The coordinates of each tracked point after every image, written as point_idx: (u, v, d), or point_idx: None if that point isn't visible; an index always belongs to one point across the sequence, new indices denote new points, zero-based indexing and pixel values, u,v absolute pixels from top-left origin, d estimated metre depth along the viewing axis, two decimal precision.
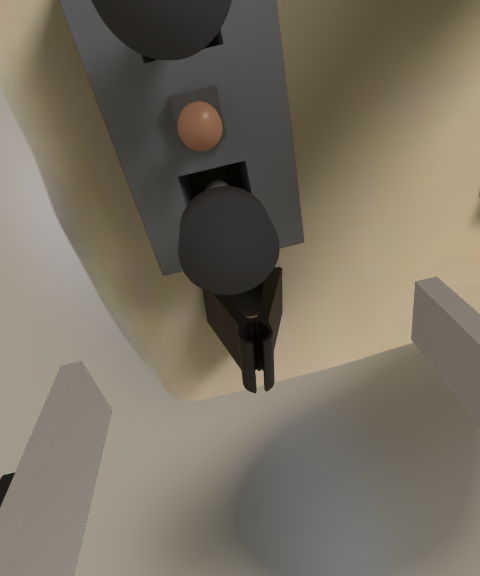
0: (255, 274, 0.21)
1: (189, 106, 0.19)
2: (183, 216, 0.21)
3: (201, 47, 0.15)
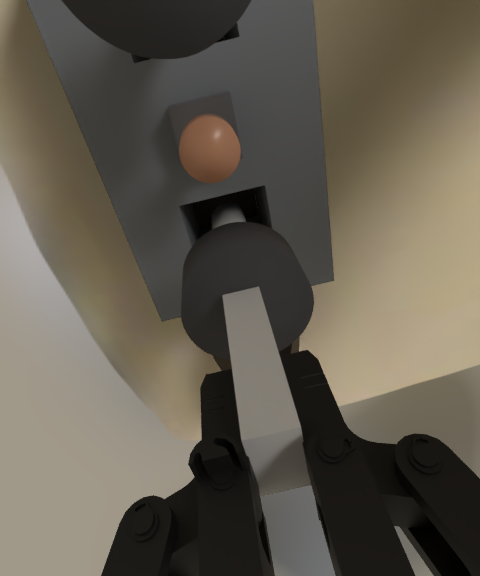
0: (281, 336, 0.16)
1: (195, 123, 0.13)
2: (187, 261, 0.16)
3: (216, 38, 0.09)
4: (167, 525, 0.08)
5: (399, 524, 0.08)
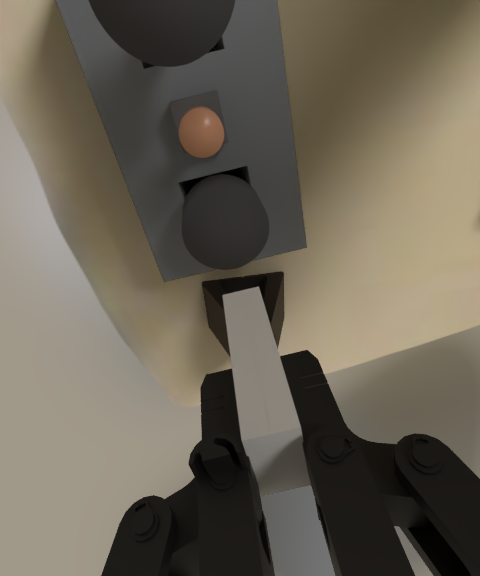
0: (249, 251, 0.24)
1: (190, 112, 0.19)
2: (185, 201, 0.24)
3: (203, 53, 0.14)
4: (167, 525, 0.08)
5: (399, 524, 0.08)
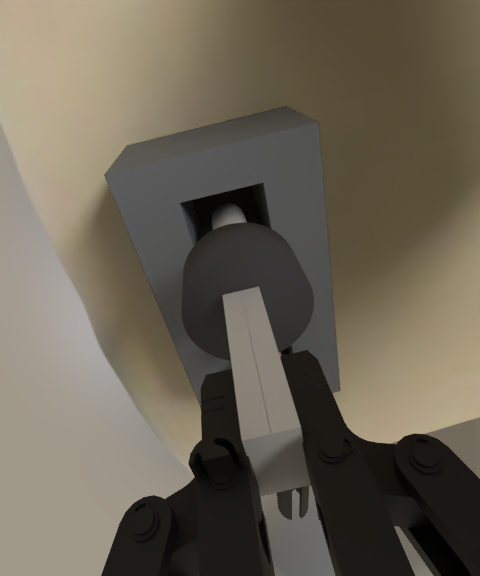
0: None
1: None
2: None
3: (278, 351, 0.16)
4: (167, 525, 0.08)
5: (399, 524, 0.08)
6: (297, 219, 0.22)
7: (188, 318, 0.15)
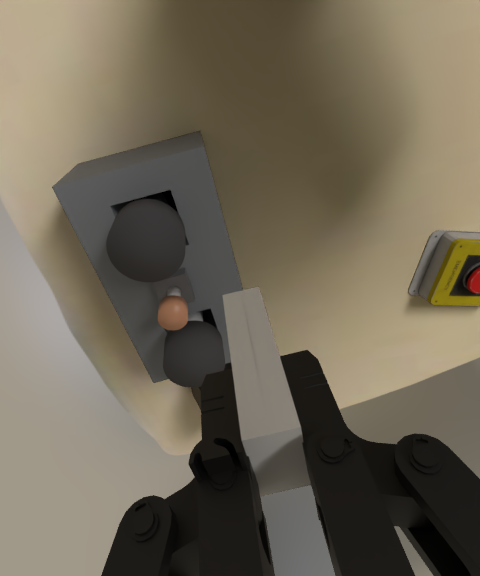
0: None
1: (165, 307, 0.28)
2: (166, 340, 0.34)
3: (170, 275, 0.28)
4: (167, 525, 0.08)
5: (399, 524, 0.08)
6: (201, 216, 0.30)
7: (111, 253, 0.26)
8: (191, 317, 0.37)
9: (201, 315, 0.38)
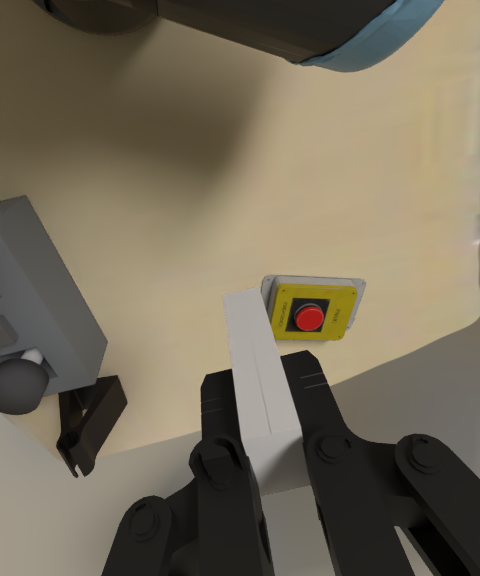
0: (30, 405, 0.39)
1: None
2: None
3: None
4: (167, 525, 0.08)
5: (399, 524, 0.08)
6: (5, 275, 0.36)
7: None
8: (28, 351, 0.43)
9: None
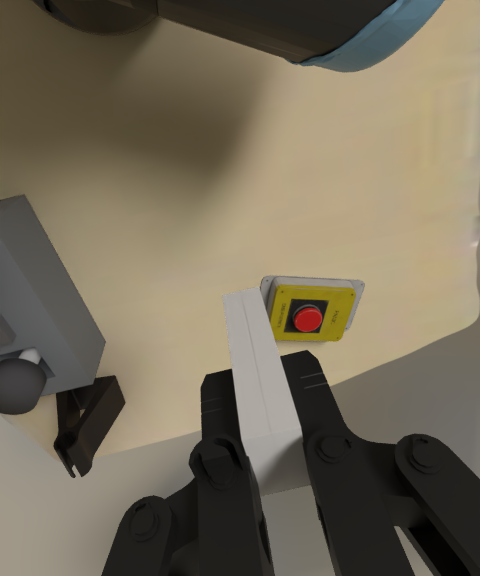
0: (27, 405, 0.39)
1: None
2: None
3: None
4: (167, 525, 0.08)
5: (399, 524, 0.08)
6: (3, 274, 0.36)
7: None
8: (26, 351, 0.43)
9: None
